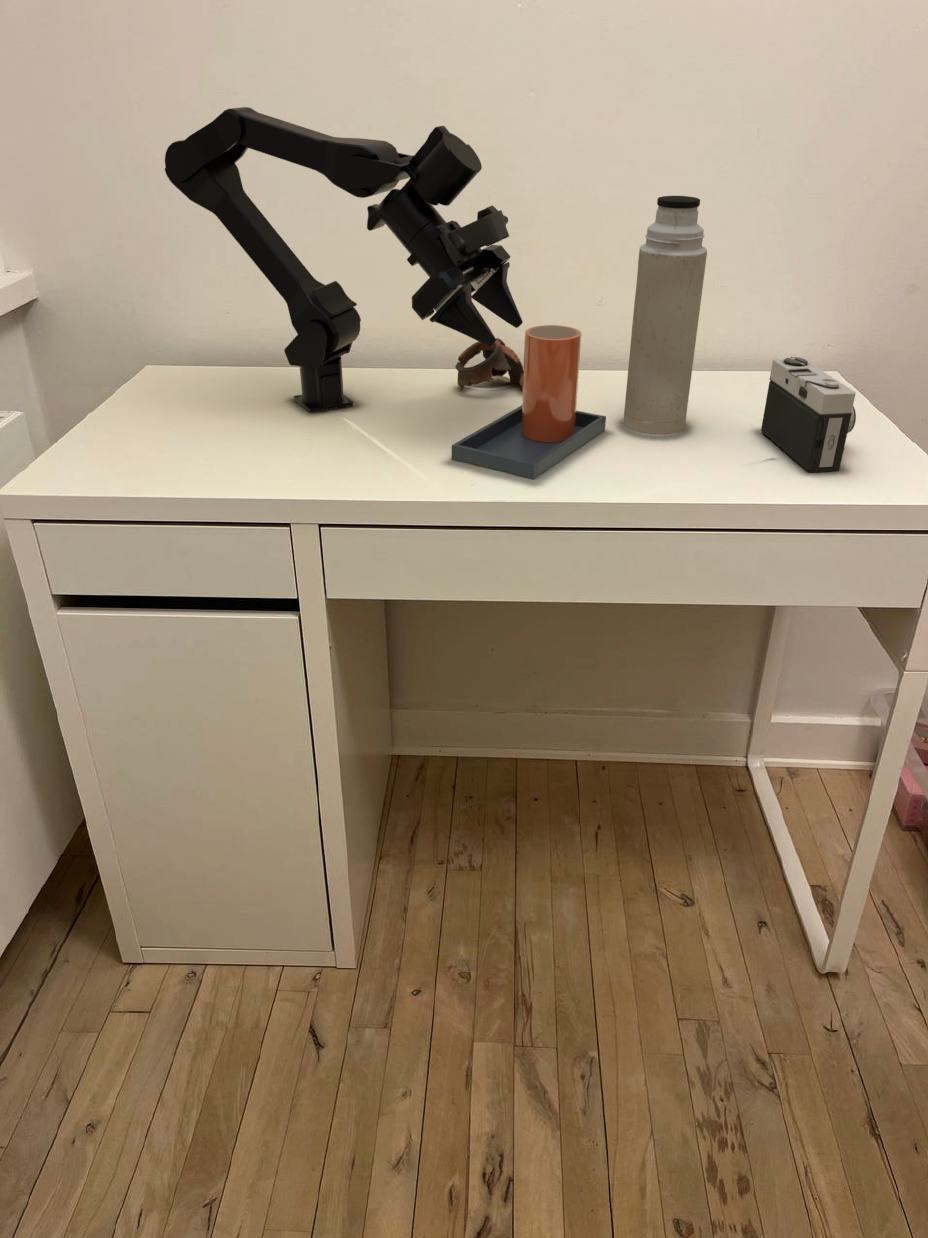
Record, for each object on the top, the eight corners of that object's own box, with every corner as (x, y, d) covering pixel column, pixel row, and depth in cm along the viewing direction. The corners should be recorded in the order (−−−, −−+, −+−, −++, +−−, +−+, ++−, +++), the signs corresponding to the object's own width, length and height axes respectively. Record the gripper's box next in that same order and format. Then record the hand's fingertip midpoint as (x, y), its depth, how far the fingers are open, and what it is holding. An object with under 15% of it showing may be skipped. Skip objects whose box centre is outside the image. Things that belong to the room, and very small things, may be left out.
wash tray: (528, 417, 131) (529, 400, 130) (604, 433, 126) (606, 416, 125) (451, 463, 117) (451, 445, 116) (533, 483, 112) (534, 464, 111)
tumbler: (511, 429, 126) (514, 329, 119) (555, 420, 129) (560, 322, 122) (540, 446, 121) (545, 342, 114) (585, 436, 124) (592, 334, 117)
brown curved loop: (531, 404, 137) (505, 357, 132) (472, 428, 141) (444, 383, 136) (533, 358, 146) (509, 312, 141) (477, 382, 149) (451, 338, 144)
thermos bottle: (632, 413, 133) (654, 190, 118) (691, 422, 130) (720, 194, 115) (615, 432, 127) (636, 198, 112) (675, 441, 124) (705, 203, 109)
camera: (871, 469, 116) (890, 387, 111) (806, 473, 115) (822, 390, 110) (817, 428, 128) (832, 352, 123) (757, 431, 127) (770, 355, 122)
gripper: (434, 195, 106) (526, 308, 108) (496, 175, 121) (576, 275, 123) (373, 265, 113) (461, 370, 115) (439, 237, 128) (516, 331, 130)
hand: (507, 334), depth 121 cm, fingers open, 9 cm apart
